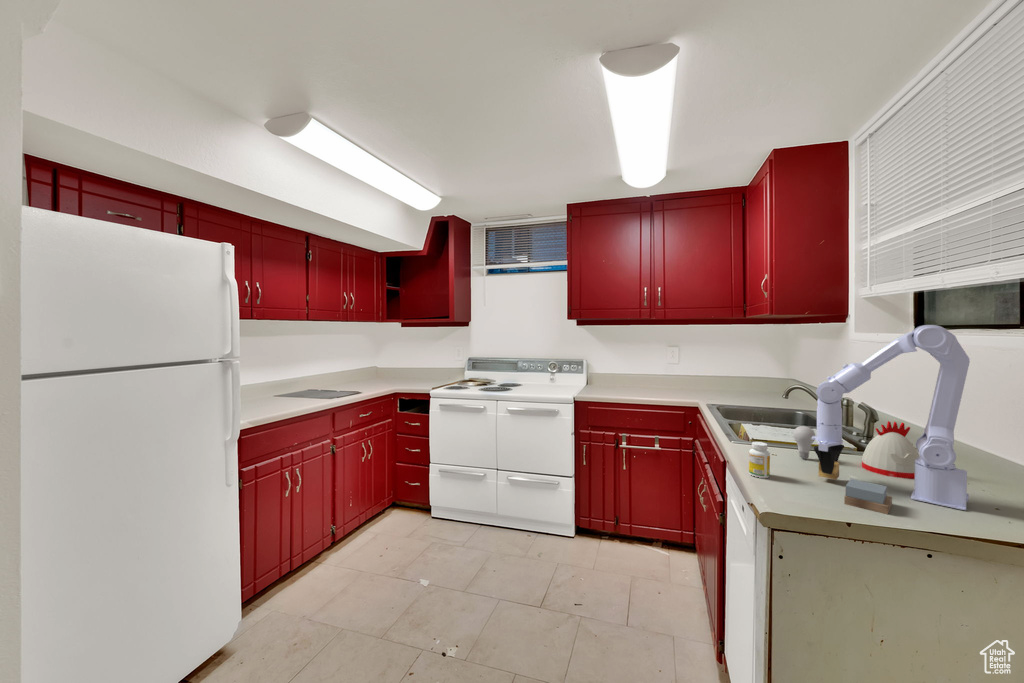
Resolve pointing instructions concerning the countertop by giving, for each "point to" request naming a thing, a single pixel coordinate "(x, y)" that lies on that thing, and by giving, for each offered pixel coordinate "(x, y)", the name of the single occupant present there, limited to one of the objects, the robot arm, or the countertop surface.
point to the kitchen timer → (891, 453)
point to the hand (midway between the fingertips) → (828, 471)
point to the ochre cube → (834, 474)
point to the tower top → (866, 491)
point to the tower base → (870, 504)
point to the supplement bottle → (759, 460)
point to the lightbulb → (803, 440)
